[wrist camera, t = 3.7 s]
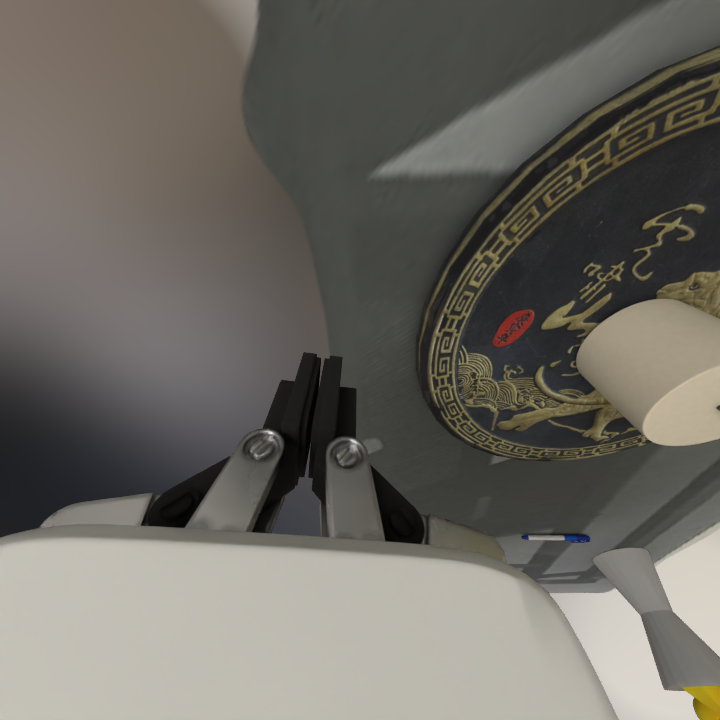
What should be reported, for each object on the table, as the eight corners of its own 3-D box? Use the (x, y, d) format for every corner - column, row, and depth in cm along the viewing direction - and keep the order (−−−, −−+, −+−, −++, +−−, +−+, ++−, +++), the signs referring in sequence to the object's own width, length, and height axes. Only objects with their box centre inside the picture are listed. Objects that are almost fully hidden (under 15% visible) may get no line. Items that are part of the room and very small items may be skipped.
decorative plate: (341, 391, 22) (954, -355, 7) (343, 376, 23) (844, -260, 8) (562, 491, 32) (1016, 281, 16) (552, 475, 33) (961, 271, 18)
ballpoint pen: (589, 533, 42) (593, 541, 41) (586, 536, 43) (591, 543, 42) (521, 534, 42) (524, 541, 42) (519, 536, 43) (522, 543, 42)
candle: (621, 290, 17) (746, 353, 11) (719, 306, 17) (884, 373, 12) (556, 375, 21) (624, 452, 15) (637, 386, 21) (731, 463, 16)
